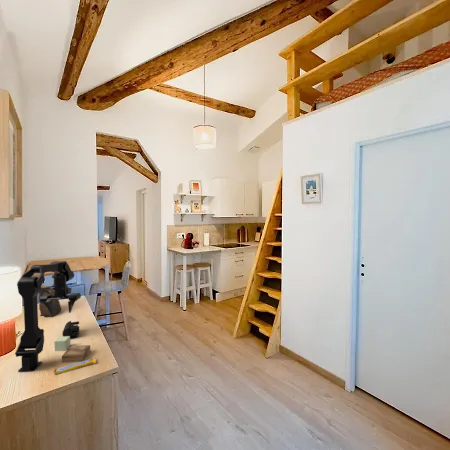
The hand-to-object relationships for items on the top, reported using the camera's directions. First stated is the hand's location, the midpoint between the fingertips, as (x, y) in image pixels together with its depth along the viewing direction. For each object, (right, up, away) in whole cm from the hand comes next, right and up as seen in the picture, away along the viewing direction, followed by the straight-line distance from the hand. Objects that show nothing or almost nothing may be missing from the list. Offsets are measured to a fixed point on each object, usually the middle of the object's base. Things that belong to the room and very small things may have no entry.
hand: (61, 313), depth 145 cm
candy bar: (+22, -16, -26) cm, 38 cm away
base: (+18, -15, -17) cm, 29 cm away
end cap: (+3, -14, +4) cm, 15 cm away
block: (+7, -15, -9) cm, 19 cm away
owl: (-28, -13, +36) cm, 48 cm away
